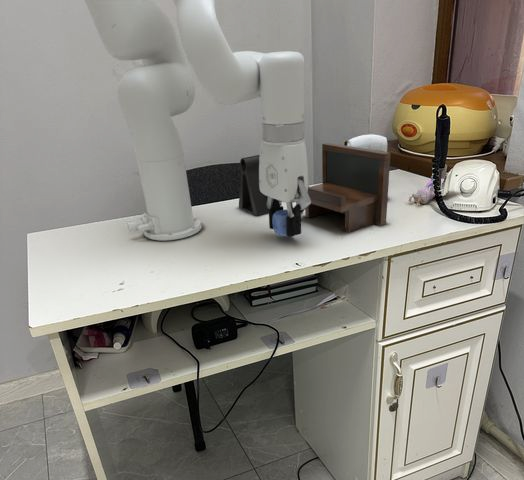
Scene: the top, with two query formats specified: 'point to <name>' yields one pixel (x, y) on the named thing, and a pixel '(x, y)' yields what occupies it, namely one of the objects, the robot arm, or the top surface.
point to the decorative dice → (280, 222)
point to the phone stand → (251, 187)
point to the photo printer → (369, 142)
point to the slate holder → (352, 185)
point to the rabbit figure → (425, 193)
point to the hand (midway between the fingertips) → (285, 230)
